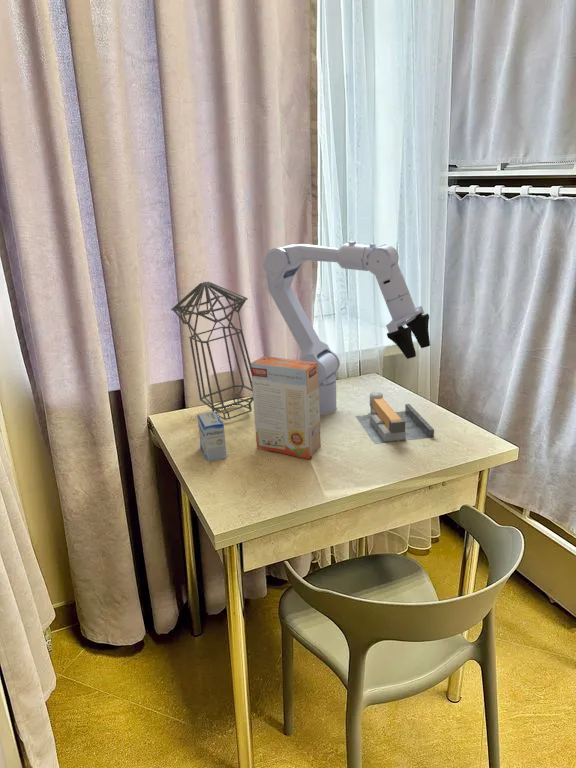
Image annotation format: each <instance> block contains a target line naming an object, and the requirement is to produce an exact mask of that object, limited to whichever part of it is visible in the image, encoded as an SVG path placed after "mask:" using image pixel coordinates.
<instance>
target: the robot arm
mask: <svg viewBox="0 0 576 768" xmlns="http://www.w3.org/2000/svg"><path fill="white" fill-rule="evenodd" d="M399 258H400V257H399V253H398V251H397V249H396V248H395V247H394V246H391V245H387V244H382V245H380V246H376V243H369V244H357V241H355V240H354V241H353V240H351V241H348V243H344V244H342V245H341V246H340V247H339V248H338V247H331V246H330V247H329V246H324V245H316V244H308V243H298V244H297V243H296V244H293V243H291V244H288V245H287V244H286V245H285V246H280V247H274V248H271V249H269V250H268V251H267V253H265V256H264V258H263V259H264V260H263V263H262V268H263V269H264V271H265V274H266V282H267V283H266V285H267V289H268V292H269V294H270V296H271V298H272V299H273V302H274V303H275V306H276V307H277V308H278V310H279V312H280V315H281V316H282V318H283V320H284V322H285V323H286V325H287V327H288V329H289V331H290V333H291V334H292V337H294V341H295V342H296V345H298V347H299V349H300V350H301V351H300V352H301V353H300V358H299V361H307V362H316V363H318V378H319V408H320V415H328V414H332V413H334V412H336V410H337V407H338V406H337V377H336V373H337V371H339V368H340V363H341V362H340V358H339V356H338V355H337V354H336V353H335V352H333V350H331V348H330V347H329V345H328V344H327V343H325V342H323V341H321V340H320V337H319V336H318V334H317V332H316V330H315V329H314V327H313V324H312V323H311V321H310V320H309V318H308V315H307V314H306V312H305V310H304V309H303V308H304V307H303V306H302V304H301V302H300V301H299V298H298V297H297V295H296V294H295V291H294V289H293V287H292V284H293V281H294V278H295V275H296V274H297V272H298V271H299V270H300V269H301V267H302V265H303V264H304V263H306V262H308V261H312V262H326V263H328V262H329V263H337V264H338V265H339V266H340V268H341V269H345V270H353V271H354V270H356V271H362V272H363V271H365V272H369V273H371V274H373V275H374V276H375V279H376V282H377V284H378V287H379V289H380V292H381V294H382V296H383V299H384V301H385V304H386V307H387V310H388V312H389V314H390V317H391V320H390V321H389V323H388V324H386V325H385V327H386V330H387V331H388V332H387V333H386V336H387V337H386V338H387V339H389V340H390V341H392V342H393V344H395V345H396V346H397V347H398V349H399V350H400V351H401V352H402V353H403V355H404V357H405V358H406V359H407V360H409V359H412V358H415V357H417V354H416V348H415V345H414V342H413V337H412V336H413V335H414V337H415V339H416V341H417V343H418V344H417V345H419V347H420V348H421V349H424V348H427V347H430V346H431V341H430V340H431V339H430V334H429V333H430V332H429V324H430V323H429V322H430V314H429V313H425V311H424V309H423V306H422V305H420V306H417V307H416V306H415V303H414V300H413V298H412V295H411V293H410V291H409V288H408V286H407V283H406V280H405V278H404V275H403V272H402V271H401V267H400V265H399ZM405 325H406V326H407V327H404V326H405ZM412 334H413V335H412Z"/></svg>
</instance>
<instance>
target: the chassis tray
mask: <svg viewBox="0 0 576 768" xmlns="http://www.w3.org/2000/svg"><path fill="white" fill-rule="evenodd" d="M404 405H405V410H403V411H395V412H396V414H397V415H398V416H399V417H400V418H401V419H404V421H405V431H406V439H404V440H395V441H385V442H384V440H383V439H382V438H381V436H380V435H379V433H378V431H376V429H375V428H374V427H373V425H372V424H371V422H370V418H371V415H374V414H377V412H376V411H375V410H374V408H372V407H370V409H369V410H370V412H369V413H367V414H366V415H365V414H364V415H356V416H355V417H356V419H357V420H358V422H359V424H360V425H361V426H362V428H363V429H364V431H365V432H366V434H367V435H368V437H369V438H370V440H371V441H372V442H373V445H376V444H377V445H378V444H385V443H386V444H387V443H395V442H396V443H397V442H403V441H413V440H422V439H423V440H424V439H432V438H434V437H435V429H434V428H433V427H432V426H431V425H430V423H429V422H427V420H425V419H424V417H423V416H422V415H421V414H420V413H419V412H418V411H417V410H416V409H415V408H414V407H413V406H412V405H411V404H410V403H407V404H404Z"/></svg>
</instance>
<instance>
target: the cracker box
mask: <svg viewBox="0 0 576 768" xmlns="http://www.w3.org/2000/svg"><path fill="white" fill-rule="evenodd" d="M250 375H251V381H252V388H253V392H252V397H253V401H252V403H253V413H254V428H255V442H256V448H257V449H260V450H265V451H269V452H273V453H274V452H275V453H278V454H284V455H289V456H293V457H297V458H301V459H306V460H310V459H312V455H313V454H314V453H315V452H317V451H318V450H319V449H320V448H321V417H320V416H321V414H320V408H319V378H318V363H316V362H307V361H300V359H299V360H298V359H289V358H281V357H273V356H266V355H264V356H262V357H260V358H258V359H256V360H253V361H251V371H250ZM252 388H251V389H252Z"/></svg>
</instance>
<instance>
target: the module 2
mask: <svg viewBox="0 0 576 768" xmlns="http://www.w3.org/2000/svg"><path fill="white" fill-rule="evenodd" d="M378 433H379V435H380V436H381V438H382V439H383V440H384V442H385V441H395V440H404V439H406V431H405V432H400V433H391V432H390V431H389V428H388V426H387V425H386V424H380V425H378Z"/></svg>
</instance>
